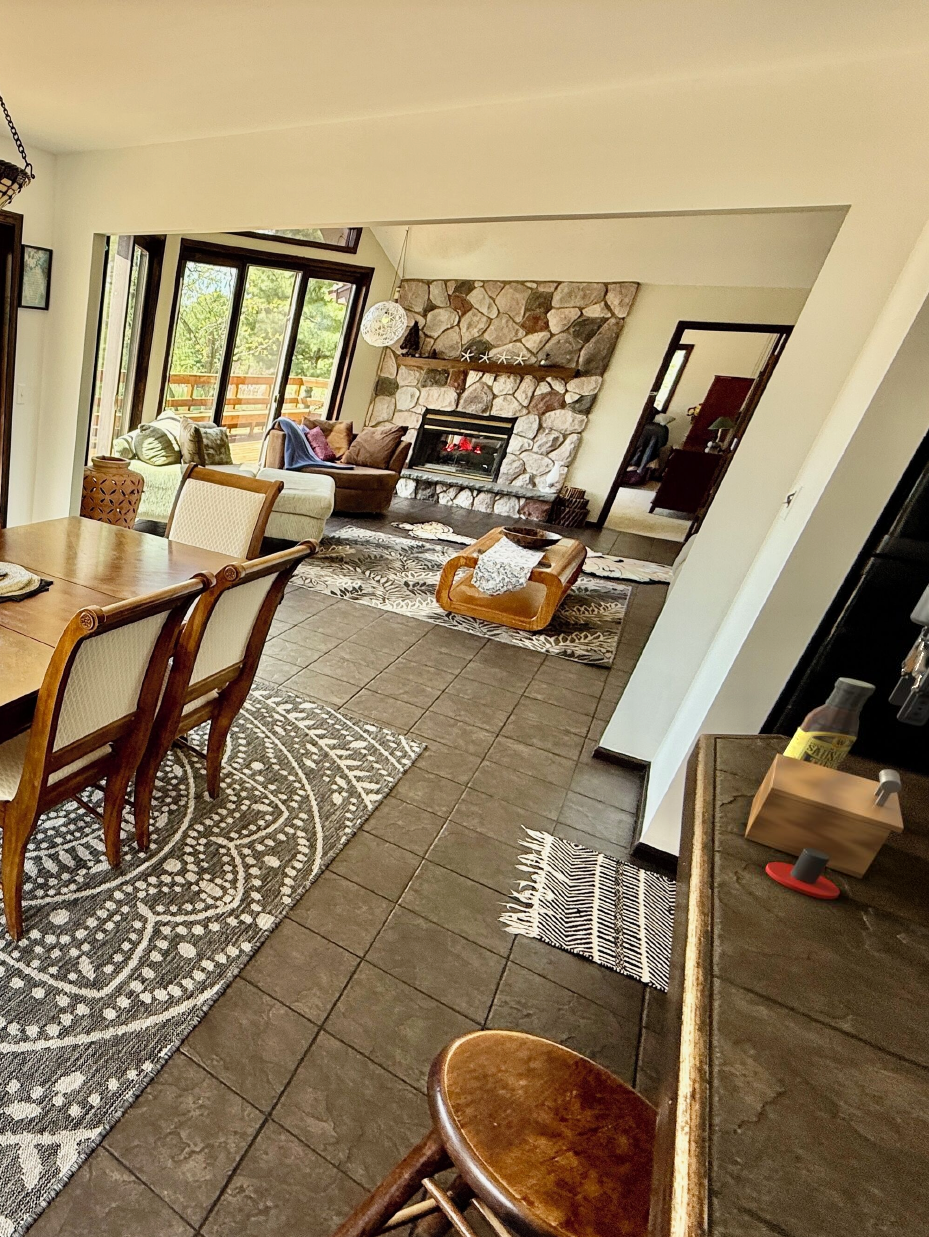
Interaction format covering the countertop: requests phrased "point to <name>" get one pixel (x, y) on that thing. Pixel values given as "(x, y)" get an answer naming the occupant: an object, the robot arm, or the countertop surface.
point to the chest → (813, 831)
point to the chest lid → (840, 791)
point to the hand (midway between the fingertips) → (904, 713)
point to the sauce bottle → (831, 726)
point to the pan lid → (805, 874)
